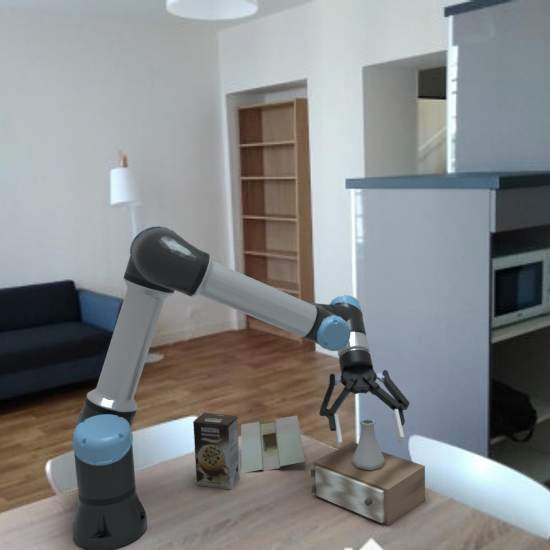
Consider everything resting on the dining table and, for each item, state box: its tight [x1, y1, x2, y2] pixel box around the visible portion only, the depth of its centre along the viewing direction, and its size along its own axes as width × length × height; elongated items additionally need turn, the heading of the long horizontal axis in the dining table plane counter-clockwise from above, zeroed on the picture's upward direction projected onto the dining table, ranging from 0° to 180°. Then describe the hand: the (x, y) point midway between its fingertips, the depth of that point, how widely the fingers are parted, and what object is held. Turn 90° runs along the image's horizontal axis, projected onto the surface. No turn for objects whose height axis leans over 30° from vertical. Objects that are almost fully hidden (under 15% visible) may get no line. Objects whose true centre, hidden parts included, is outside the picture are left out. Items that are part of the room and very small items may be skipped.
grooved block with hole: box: [240, 415, 306, 474], centre depth 168 cm, size 16×9×15 cm
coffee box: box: [192, 412, 241, 490], centre depth 155 cm, size 9×6×16 cm
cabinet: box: [310, 441, 426, 527], centre depth 145 cm, size 20×16×8 cm
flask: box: [351, 418, 386, 470], centre depth 144 cm, size 7×7×10 cm
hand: (370, 441), depth 142 cm, fingers open, 13 cm apart
